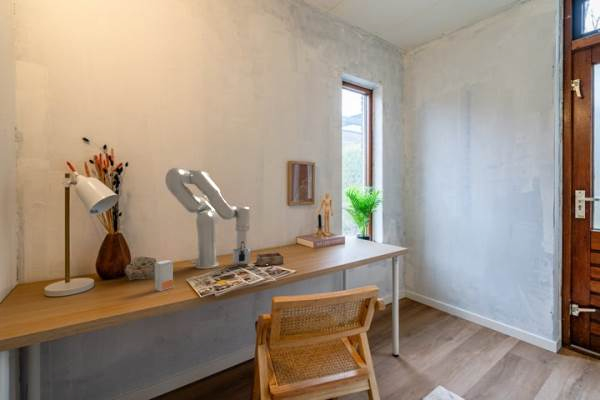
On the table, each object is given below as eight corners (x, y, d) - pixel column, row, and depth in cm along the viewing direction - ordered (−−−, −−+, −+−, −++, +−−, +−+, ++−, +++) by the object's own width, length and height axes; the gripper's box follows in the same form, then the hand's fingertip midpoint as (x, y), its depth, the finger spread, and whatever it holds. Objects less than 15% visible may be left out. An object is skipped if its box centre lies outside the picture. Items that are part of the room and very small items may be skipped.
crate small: (233, 263, 152) (233, 251, 152) (232, 260, 158) (233, 248, 158) (249, 263, 155) (250, 251, 155) (248, 260, 161) (248, 248, 161)
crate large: (259, 266, 154) (259, 258, 154) (256, 261, 164) (256, 254, 164) (283, 263, 158) (283, 256, 158) (279, 259, 168) (279, 252, 168)
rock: (163, 279, 137) (158, 261, 134) (130, 291, 129) (124, 273, 127) (157, 265, 153) (152, 249, 151) (127, 276, 146) (121, 259, 143)
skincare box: (160, 291, 116) (159, 264, 116) (155, 290, 119) (154, 262, 118) (173, 287, 121) (173, 260, 121) (168, 285, 124) (167, 259, 123)
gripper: (234, 226, 163) (233, 256, 164) (236, 230, 147) (235, 263, 147) (247, 226, 165) (246, 255, 166) (250, 230, 149) (249, 263, 149)
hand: (241, 259), depth 156 cm, fingers closed on crate small, 6 cm apart
